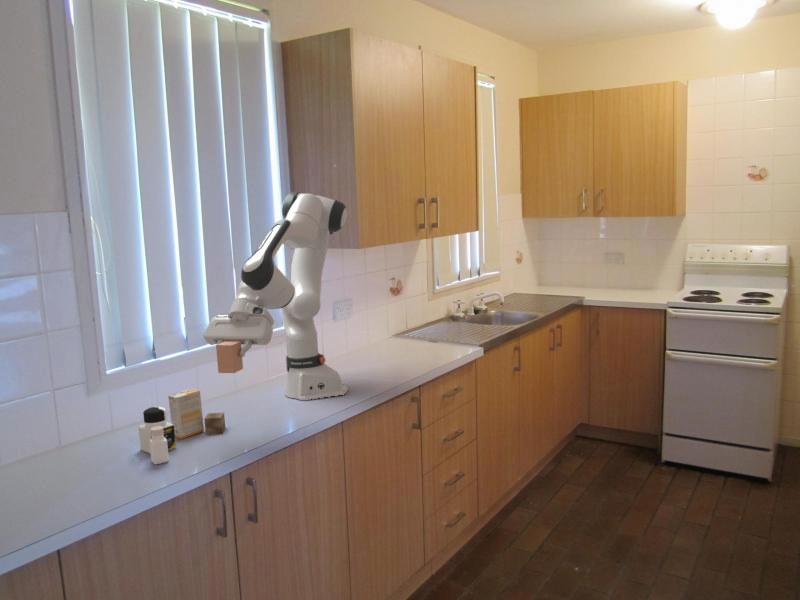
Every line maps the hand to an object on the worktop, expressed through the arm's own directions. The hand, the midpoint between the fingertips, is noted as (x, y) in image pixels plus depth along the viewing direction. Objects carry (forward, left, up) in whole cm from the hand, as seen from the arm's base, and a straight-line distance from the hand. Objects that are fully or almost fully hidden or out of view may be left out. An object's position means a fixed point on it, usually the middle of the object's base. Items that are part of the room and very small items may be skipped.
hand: (230, 355), depth 185 cm
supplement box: (+16, -11, -26) cm, 32 cm away
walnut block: (+8, -12, -26) cm, 30 cm away
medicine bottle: (+22, 0, -26) cm, 34 cm away
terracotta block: (0, 0, -4) cm, 4 cm away
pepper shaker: (+19, +10, -26) cm, 34 cm away
